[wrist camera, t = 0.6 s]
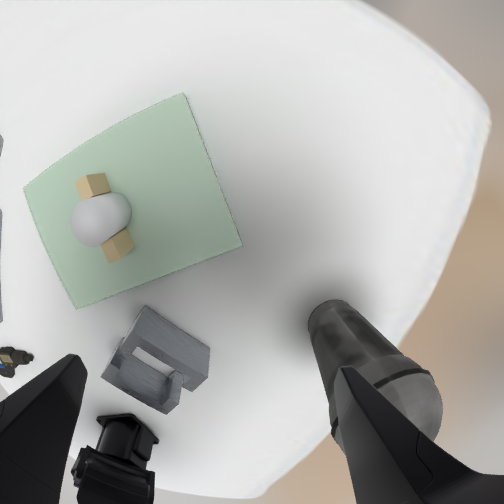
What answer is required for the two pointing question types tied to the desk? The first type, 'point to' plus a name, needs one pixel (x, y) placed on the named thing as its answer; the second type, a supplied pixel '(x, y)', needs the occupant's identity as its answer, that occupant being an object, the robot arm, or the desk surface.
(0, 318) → the office telephone
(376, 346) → the beverage cup
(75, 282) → the keyed post stand
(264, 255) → the desk surface
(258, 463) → the desk surface
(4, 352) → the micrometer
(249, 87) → the desk surface
